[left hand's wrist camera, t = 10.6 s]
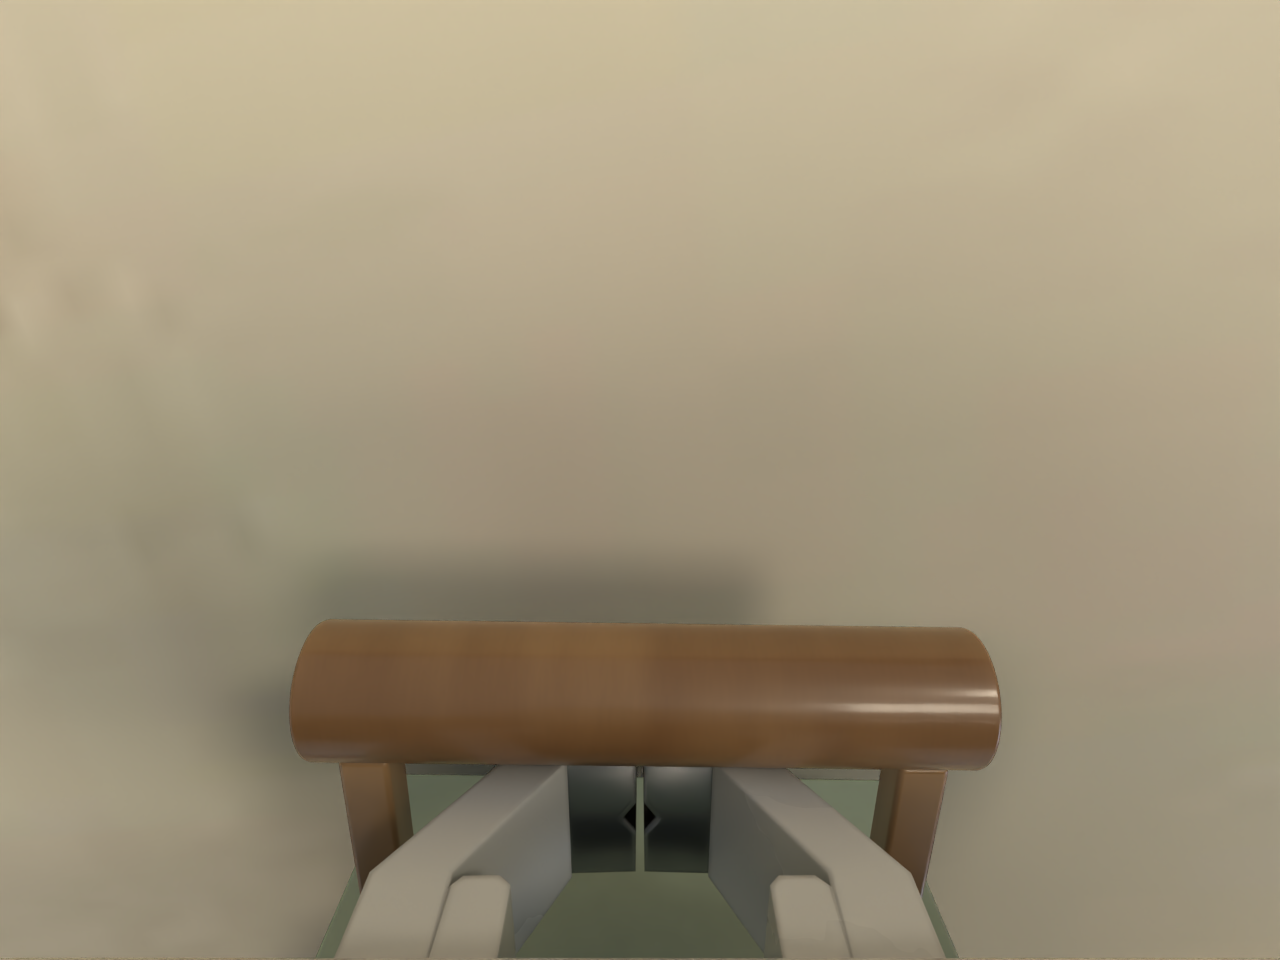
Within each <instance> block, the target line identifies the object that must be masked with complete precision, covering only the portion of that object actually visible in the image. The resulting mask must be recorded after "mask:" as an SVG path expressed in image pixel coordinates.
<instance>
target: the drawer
mask: <svg viewBox="0 0 1280 960" xmlns="http://www.w3.org/2000/svg"><path fill="white" fill-rule="evenodd" d="M289 719H290V730H291V736H292V740H293V744H294V746H295V749H296V751H297V753H298V754H299V755H300V757H302V758H303V759H304V760H306V761H308V762H324V763H339V767H340V773H341V780H342V786H343V792H344V798H345V805H346V811H347V817H348V823H349V829H350V836H351V842H352V848H353V854H354V861H355V868H354V870H353V872H352V874H351V877H350V879H349V881H348V884H347V886H346V888H345V891H344V893H343V895H342V898H341V900H340V902H339V905H338V907H337V909H336V912H335V914H334V916H333V918H332V921H331V923H330V925H329V928H328V930H327V932H326V935H325V937H324V939H323V942H322V944H321V946H320V949H319V951H318V953H317V955H316V958H334V957H335V954H336V952H337V949H338V947H339V945H340V942H341V940H342V937H343V935H344V933H345V930H346V928H347V925H348V923H349V921H350V918H351V916H352V913H353V911H354V908H355V906H356V904H357V901H358V899H359V896H360V894H361V892H362V889H363V887H364V884H365V882H366V880H367V877H368V875H369V872H370V871H371V870H373V869H374V868H375V867H376V866H377V865H379V864H380V863H381V862H382V861H383V860H385V859H386V858H387V857H388V856H389V855H391V854H392V853H393V852H394V851H395V850H397V849H398V848H399V847H400V846H401V845H403V844H404V843H405V842H406V841H407V840H409V839H410V838H411V837H412V836H413V835H415V834H416V833H417V832H418V831H419V830H421V829H422V828H423V827H424V826H425V825H427V824H428V823H429V822H430V821H431V820H433V819H434V818H435V817H436V816H437V815H439V814H440V813H441V812H442V811H443V810H445V809H446V808H447V807H448V806H449V805H451V804H452V803H453V802H454V801H455V800H457V799H458V798H459V797H460V796H461V795H463V794H464V793H465V792H466V791H467V790H468V789H470V788H471V787H472V786H473V785H474V784H476V783H477V782H478V781H479V780H480V779H482V778H483V777H484V776H485V775H412V774H406V768H405V763H406V764H489V765H571V766H653V767H736V768H818V769H881V773H880V779H879V780H827V779H799V780H801V781H802V782H803V783H804V784H805V785H807V786H808V787H809V788H810V789H811V790H813V791H814V792H815V793H816V794H817V795H819V796H820V797H821V798H822V799H823V800H825V801H826V802H827V803H828V804H829V805H830V806H832V807H833V808H834V809H835V810H836V811H838V812H839V813H840V814H841V815H842V816H844V817H845V818H846V819H847V820H848V821H850V822H851V823H852V824H853V825H854V826H856V827H857V828H858V829H859V830H860V831H861V832H863V833H864V834H865V835H866V836H867V837H869V838H870V839H871V840H872V841H873V842H875V843H876V844H877V845H878V846H879V847H881V848H882V849H883V850H884V851H885V852H887V853H888V854H889V855H890V856H891V857H892V858H894V859H895V860H896V861H897V862H898V863H900V864H901V865H902V866H903V867H904V868H906V869H907V870H908V871H909V872H910V873H911V874H912V876H913V879H914V881H915V884H916V886H917V889H918V891H919V893H920V896H921V898H922V901H923V903H924V906H925V908H926V910H927V913H928V915H929V918H930V920H931V923H932V925H933V928H934V930H935V932H936V935H937V937H938V940H939V942H940V945H941V947H942V949H943V952H944V954H945V957H946V958H959V957H958V954H957V952H956V950H955V947H954V945H953V943H952V940H951V938H950V936H949V933H948V931H947V929H946V926H945V924H944V922H943V919H942V917H941V914H940V912H939V910H938V907H937V905H936V903H935V900H934V898H933V896H932V893H931V891H930V889H929V886H928V884H927V882H926V877H927V872H928V868H929V863H930V858H931V853H932V848H933V843H934V838H935V833H936V828H937V824H938V819H939V814H940V809H941V804H942V799H943V794H944V789H945V784H946V780H947V775H948V770H980V769H983V768H985V767H986V766H988V765H989V763H990V762H991V761H992V759H993V758H994V756H995V754H996V751H997V748H998V744H999V740H1000V734H1001V719H1002V714H1001V699H1000V692H999V686H998V681H997V677H996V673H995V670H994V667H993V664H992V661H991V658H990V656H989V654H988V652H987V650H986V648H985V646H984V645H983V643H982V642H981V640H980V639H979V638H978V637H977V636H976V635H975V634H974V633H973V632H971V631H969V630H967V629H965V628H956V627H880V626H805V625H730V624H655V623H580V622H505V621H429V620H354V619H329V620H325V621H323V622H321V623H319V624H318V625H317V626H316V627H315V628H314V629H313V630H312V631H311V633H310V634H309V635H308V637H307V639H306V641H305V643H304V645H303V647H302V649H301V652H300V654H299V657H298V660H297V663H296V667H295V671H294V675H293V680H292V686H291V693H290V705H289ZM516 958H764V953H763V952H762V951H761V949H760V948H759V947H758V945H757V944H756V942H755V941H754V940H753V938H752V937H751V935H750V934H749V933H748V931H747V930H746V928H745V927H744V926H743V924H742V923H741V921H740V920H739V919H738V917H737V916H736V915H735V913H734V912H733V910H732V909H731V908H730V906H729V905H728V903H727V902H726V901H725V899H724V898H723V896H722V895H721V894H720V892H719V891H718V889H717V888H716V887H715V885H714V884H713V882H712V881H711V880H710V878H709V877H708V873H679V872H644V800H643V777H637V802H636V871H634V872H600V873H572V878H571V879H570V881H569V882H568V883H567V885H566V886H565V887H564V889H563V890H562V892H561V893H560V894H559V896H558V897H557V899H556V900H555V901H554V903H553V904H552V905H551V907H550V908H549V910H548V911H547V912H546V914H545V915H544V917H543V918H542V919H541V921H540V922H539V923H538V925H537V926H536V928H535V929H534V930H533V932H532V933H531V935H530V936H529V937H528V939H527V940H526V941H525V943H524V944H523V946H522V947H521V948H520V950H519V951H518V953H517V954H516Z"/></svg>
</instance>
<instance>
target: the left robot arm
mask: <svg viewBox="0 0 1280 960" xmlns="http://www.w3.org/2000/svg"><path fill="white" fill-rule="evenodd" d="M643 800H644V872H679V873H708V877H709V878H710V880H711V881H712V882H713V884H714V885H715V887H716V888H717V889H718V891H719V892H720V894H721V895H722V896H723V898H724V899H725V901H726V902H727V903H728V905H729V906H730V908H731V909H732V910H733V912H734V913H735V915H736V916H737V917H738V919H739V920H740V921H741V923H742V924H743V926H744V927H745V928H746V930H747V931H748V933H749V934H750V935H751V937H752V938H753V940H754V941H755V942H756V944H757V945H758V947H759V948H760V949H761V951H762V952H763V953H764V958H516V954H517V953H518V951H519V950H520V948H521V947H522V946H523V944H524V943H525V941H526V940H527V939H528V937H529V936H530V935H531V933H532V932H533V930H534V929H535V928H536V926H537V925H538V923H539V922H540V921H541V919H542V918H543V917H544V915H545V914H546V912H547V911H548V910H549V908H550V907H551V905H552V904H553V903H554V901H555V900H556V899H557V897H558V896H559V894H560V893H561V892H562V890H563V889H564V887H565V886H566V885H567V883H568V882H569V881H570V879H571V878H572V873H600V872H634V871H636V802H637V766H571V765H497V766H496V767H495V768H494V769H492V770H491V771H490V772H489V773H488V774H486V775H485V776H484V777H483V778H482V779H480V780H479V781H478V782H477V783H476V784H474V785H473V786H472V787H471V788H470V789H468V790H467V791H466V792H465V793H464V794H463V795H461V796H460V797H459V798H458V799H457V800H455V801H454V802H453V803H452V804H451V805H449V806H448V807H447V808H446V809H445V810H443V811H442V812H441V813H440V814H439V815H437V816H436V817H435V818H434V819H433V820H431V821H430V822H429V823H428V824H427V825H425V826H424V827H423V828H422V829H421V830H419V831H418V832H417V833H416V834H415V835H413V836H412V837H411V838H410V839H409V840H407V841H406V842H405V843H404V844H403V845H401V846H400V847H399V848H398V849H397V850H395V851H394V852H393V853H392V854H391V855H389V856H388V857H387V858H386V859H385V860H383V861H382V862H381V863H380V864H379V865H377V866H376V867H375V868H374V869H373V870H371V871H370V872H369V875H368V877H367V880H366V882H365V884H364V887H363V889H362V892H361V894H360V896H359V899H358V901H357V904H356V906H355V908H354V911H353V913H352V916H351V918H350V921H349V923H348V925H347V928H346V930H345V933H344V935H343V937H342V940H341V942H340V945H339V947H338V949H337V952H336V954H335V957H334V958H0V960H1280V958H946V957H945V954H944V952H943V949H942V947H941V945H940V942H939V940H938V937H937V935H936V932H935V930H934V928H933V925H932V923H931V920H930V918H929V915H928V913H927V910H926V908H925V906H924V903H923V901H922V898H921V896H920V893H919V891H918V889H917V886H916V884H915V881H914V879H913V876H912V874H911V873H910V872H909V871H908V870H907V869H906V868H904V867H903V866H902V865H901V864H900V863H898V862H897V861H896V860H895V859H894V858H892V857H891V856H890V855H889V854H888V853H887V852H885V851H884V850H883V849H882V848H881V847H879V846H878V845H877V844H876V843H875V842H873V841H872V840H871V839H870V838H869V837H867V836H866V835H865V834H864V833H863V832H861V831H860V830H859V829H858V828H857V827H856V826H854V825H853V824H852V823H851V822H850V821H848V820H847V819H846V818H845V817H844V816H842V815H841V814H840V813H839V812H838V811H836V810H835V809H834V808H833V807H832V806H830V805H829V804H828V803H827V802H826V801H825V800H823V799H822V798H821V797H820V796H819V795H817V794H816V793H815V792H814V791H813V790H811V789H810V788H809V787H808V786H807V785H805V784H804V783H803V782H802V781H801V780H799V779H798V778H797V777H796V776H795V775H794V774H792V773H791V772H790V771H789V770H788V769H786V768H736V767H653V766H643Z"/></svg>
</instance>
